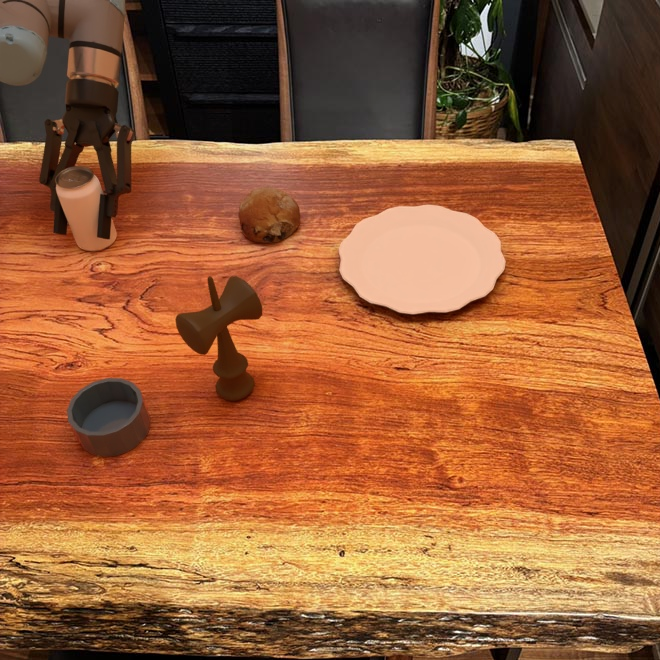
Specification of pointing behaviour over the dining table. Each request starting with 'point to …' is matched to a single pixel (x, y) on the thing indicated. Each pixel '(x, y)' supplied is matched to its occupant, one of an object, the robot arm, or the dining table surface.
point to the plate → (421, 259)
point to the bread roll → (268, 215)
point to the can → (82, 206)
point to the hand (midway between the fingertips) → (81, 236)
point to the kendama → (223, 334)
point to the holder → (109, 417)
